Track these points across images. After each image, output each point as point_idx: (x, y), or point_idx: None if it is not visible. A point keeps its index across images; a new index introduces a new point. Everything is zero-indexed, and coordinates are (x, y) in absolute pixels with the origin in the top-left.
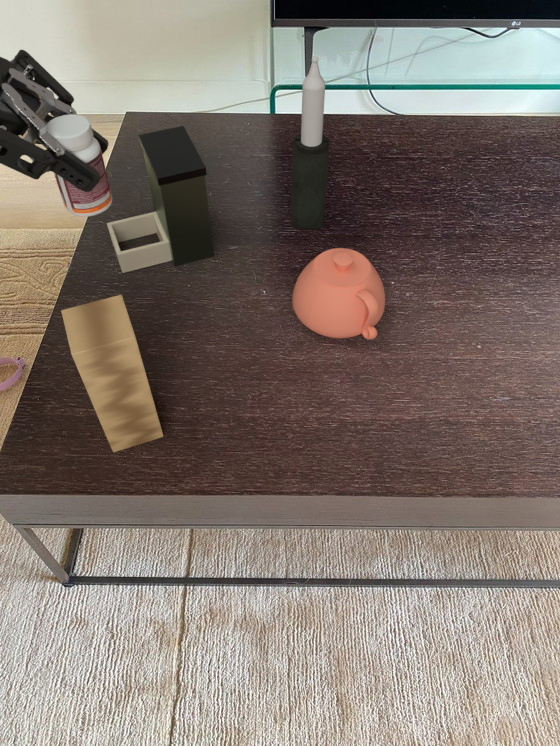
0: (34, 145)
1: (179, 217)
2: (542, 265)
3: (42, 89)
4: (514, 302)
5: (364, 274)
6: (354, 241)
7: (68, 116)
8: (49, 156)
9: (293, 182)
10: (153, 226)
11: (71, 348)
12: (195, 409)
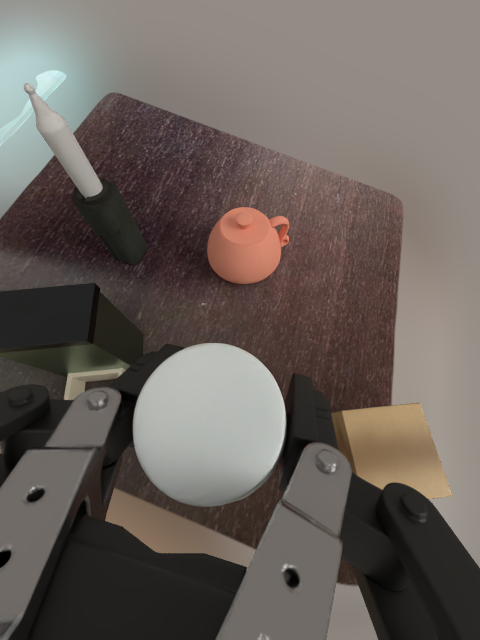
0: (429, 573)
1: (118, 343)
2: (238, 142)
3: (21, 501)
4: (264, 165)
5: (257, 213)
6: (172, 229)
7: (149, 408)
8: (418, 499)
9: (115, 233)
10: (80, 382)
11: (442, 495)
12: (315, 384)
